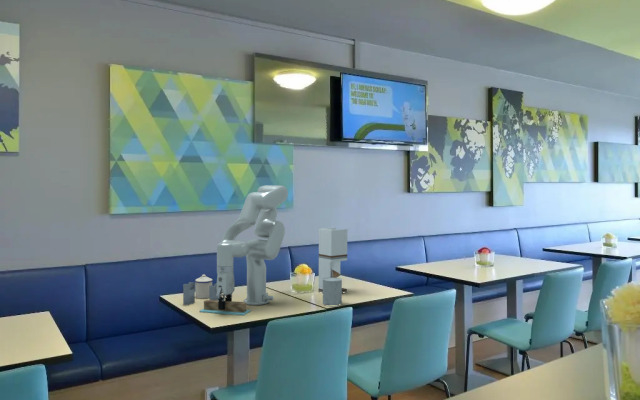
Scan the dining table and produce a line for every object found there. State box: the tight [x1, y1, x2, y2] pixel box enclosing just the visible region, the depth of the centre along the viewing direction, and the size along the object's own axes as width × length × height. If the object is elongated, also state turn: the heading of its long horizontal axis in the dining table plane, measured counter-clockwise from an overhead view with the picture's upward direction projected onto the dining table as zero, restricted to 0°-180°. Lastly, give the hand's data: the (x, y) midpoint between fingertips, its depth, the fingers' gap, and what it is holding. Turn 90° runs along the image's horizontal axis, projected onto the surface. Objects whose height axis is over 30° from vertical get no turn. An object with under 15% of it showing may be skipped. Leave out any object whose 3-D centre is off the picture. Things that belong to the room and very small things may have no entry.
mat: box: [198, 308, 252, 316], centre depth 234 cm, size 22×8×1 cm, turn 75°
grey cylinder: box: [322, 277, 343, 306], centre depth 250 cm, size 10×10×12 cm
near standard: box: [208, 283, 218, 300], centre depth 245 cm, size 3×6×10 cm, turn 165°
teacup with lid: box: [194, 274, 214, 300], centre depth 265 cm, size 12×9×12 cm
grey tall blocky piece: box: [318, 227, 348, 294], centre depth 276 cm, size 11×11×35 cm
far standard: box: [182, 281, 196, 306], centre depth 249 cm, size 3×6×10 cm, turn 165°
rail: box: [203, 299, 247, 313], centre depth 234 cm, size 20×3×4 cm, turn 75°
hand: (225, 307), depth 234 cm, fingers open, 6 cm apart
